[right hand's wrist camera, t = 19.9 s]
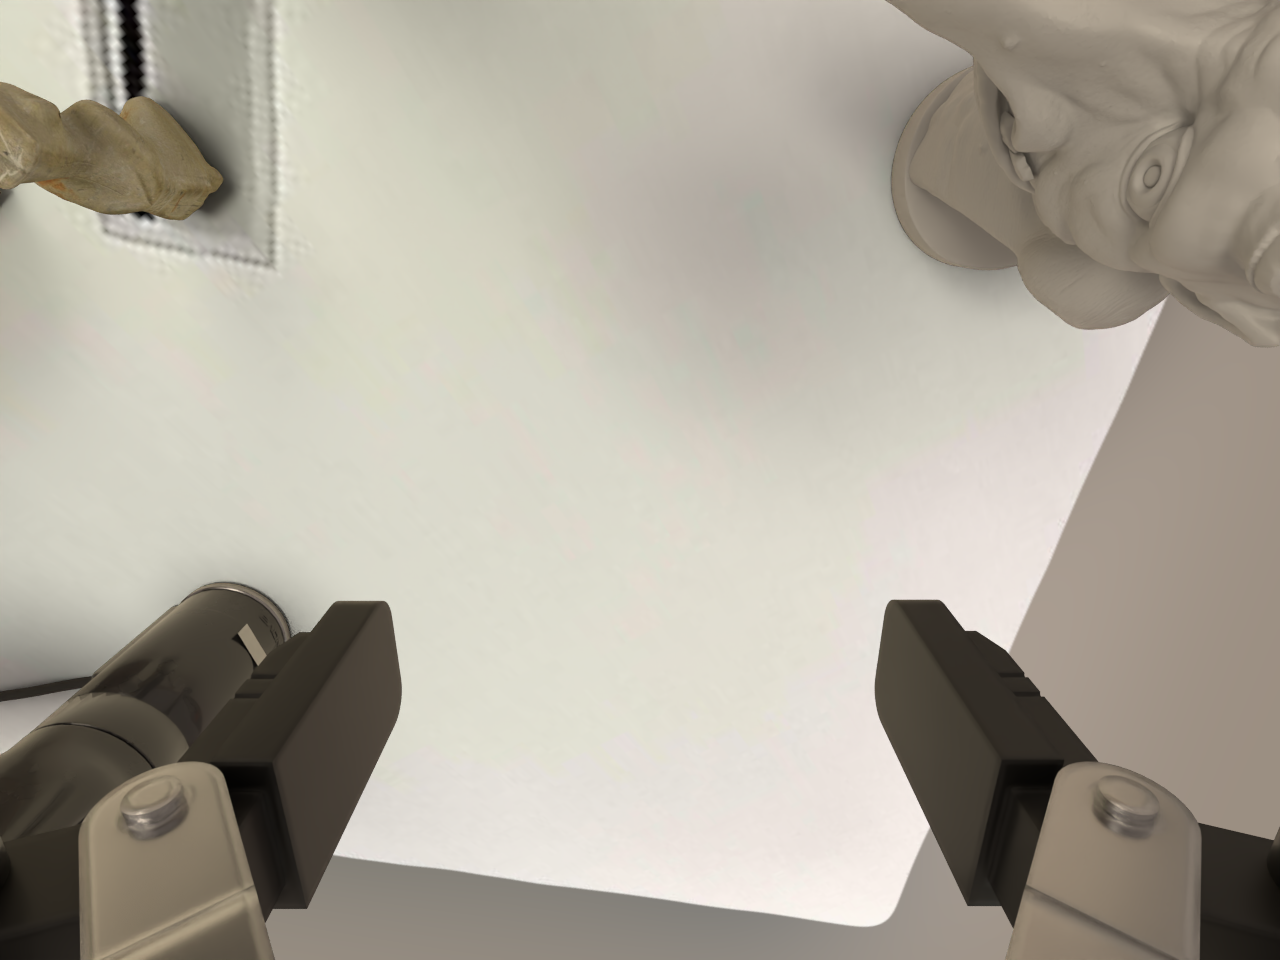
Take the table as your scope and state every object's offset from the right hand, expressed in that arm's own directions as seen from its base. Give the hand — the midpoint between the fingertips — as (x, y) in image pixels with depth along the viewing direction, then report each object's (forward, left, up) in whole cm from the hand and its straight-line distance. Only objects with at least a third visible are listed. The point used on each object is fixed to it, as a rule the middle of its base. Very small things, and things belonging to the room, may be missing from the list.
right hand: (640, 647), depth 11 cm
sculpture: (+15, -29, -42) cm, 53 cm away
